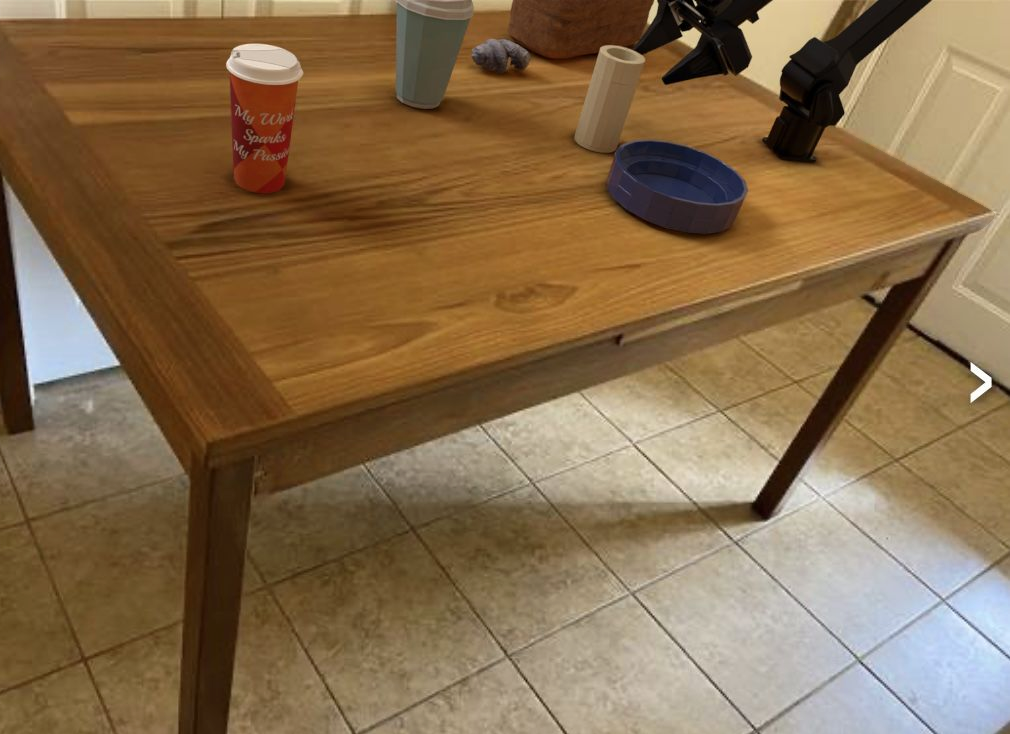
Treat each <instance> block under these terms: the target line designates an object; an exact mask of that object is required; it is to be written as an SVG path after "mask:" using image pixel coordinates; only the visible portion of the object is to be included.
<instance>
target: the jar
mask: <svg viewBox="0 0 1010 734" xmlns="http://www.w3.org/2000/svg"><path fill="white" fill-rule="evenodd" d="M595 61H596V62H595V65H594V68H593V70H592V71H593V72H592V75H591V79H590V82H589V84H588V89H587V92H586V96H585V99H584V102H583V106H582V109H581V113H580V116H579V120H578V123H577V126H576V130H575V133H574V141H575V142H576V143H577V144H578V145H579V146H580V147H582V148H584V149H586V150H589V151H592V152H595V153H603V154H608V153H613V152H616V151H617V149H618V146H619V142H620V140H621V136H622V133H623V130H624V128H625V124H626V122H627V118H628V115H629V112H630V110H631V107H632V103H633V99H634V97H635V94H636V91H637V88H638V86H639V81H640V79H641V76H642V72H643V70H644V66H645V63H646V58H645V57H644V55H641V54H639V53H637V52H636V51H633V49H631V48H628V47H621V46H614V45H606V46H602V47H601V48H600V51H599V53H597V58H596V60H595Z"/></svg>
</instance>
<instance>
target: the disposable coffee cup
mask: <svg viewBox="0 0 1010 734" xmlns="http://www.w3.org/2000/svg"><path fill="white" fill-rule="evenodd" d="M394 1H395V3H396V33H395V34H396V35H395V36H396V37H395V38H396V40H395V41H396V42H395V93H396V99H397V100H398V101H400V103H402V104H404V105H407V106H409V107H412V108H416V109H423V110H426V109H430V110H431V109H435V108H437V107H439V106H440V104H441V102H443V100H444V98H445V94H446V91H447V88H448V86H449V83H450V80H451V77H452V74H453V71H454V68H455V65H456V62H457V60H458V56H459V53H460V51H461V48H462V45H463V42H464V39H465V36H466V34H467V33H466V32H467V30H468V28H469V27H468V26H469V24H470V22H471V18H472V17H473V16H474V15H475V14H474V11H475V5H474V2H473V0H394Z"/></svg>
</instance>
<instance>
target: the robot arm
mask: <svg viewBox="0 0 1010 734" xmlns="http://www.w3.org/2000/svg"><path fill="white" fill-rule="evenodd" d="M773 1H774V0H656V2H657V9H656V14H655V16H654V18H653V20H652V21H651V23H650V24H649V26H648V27H647V29H646V30H645V32H643V33H642V35H641V38H640V40H639V41H637V42H636V44H635V45H634V47H633V48H632V50H633V51H636V52H637V53H639V54H641V55H642V56H644V55H646V54H648V53H650V52H653V51H655V50H657V49H659V48H662V47H664V46H665V45H668V44H670V43H673V42H675V41H677V40H678V39H680V38H683V37H684V36H683V33H685V32H690V31H691V30H693V28H694V29H695V30H696V31H698V32H699V33H700V36H699V39H698V41H697V43H696V45H695V47H694V48H693V49H692V50H691V51H689V52H688V54H686V55H685V56H684V57H683V58H681V59H680V60H679V61H678V62H677V63H676V64H675V65H673V66H672V67H671V68H670V69H669V70H667V72H666V73H665V74H664V75H663V76H662V77H661V81H662V83H663V85H665V86H667V85H673V84H677V83H681V82H686V81H689V80H695V79H699V78H700V79H701V78H706V77H712V76H719V75H723V76H724V77H725V76H728V75H729V72H730V73H731V74H732V75H733V76H735V77H737V76H738V75H740V74H741V73H742V72H744V71H745V70H746V69H748V68H749V66H750V64H751V61H752V59H753V55H752V53H751V49H750V47H749V45H748V42H747V40H746V36H745V34H744V31H743V30H742V28H740V26H741V25H742V24H743V23H745V22H746V21H748V22H749V23H751V24H752V25H753V24H755V23H756V22H757V21H759V20H760V17H759V13H758V12H759V11H761V10H763V9H764V8H765V7H766V6H768V5H769V4H770V3H772V2H773ZM932 1H933V0H876V1H875V2H874V3H873V4H871V6H870V7H868V8H867V9H866V10H865V11H864V12H862V14H860V15H859V16H858V17H857V18H856V19H854V20H853V21H852V22H851V23H850V24H848V25H847V27H845V28H844V29H843V30H842V31H841V32H840V33H839V34H837V35H836V36H835V37H833V38H831V39H827V40H825V41H822V40H821V39H819V38H817V37H816V36H813V37H812V38H810V39H809V40H808V41H807V42H805V44H804V45H803V46H802V47H800V49H799V50H798V51H797V50H796V52H794V53H793V54H790V55H789V59H790V60H789V61H787V62H786V64H785V65H784V66H783V67H782V69H781V74H780V78H779V88H780V89H779V98H778V100H779V101H780V102H783V103H784V104H785V105H783V107H782V109H781V111H780V113H779V115H777V116H776V117H775V119H774V122H773V124H772V126H771V129H770V131H769V133H768V136H762V139H761V141H762V142H763V143H764V144H765V145H766V146H767V147H768V148H769V150H771V151H772V152H773V153H774V154H775V155H776V156H777V157H778V158H779V159H781V160H788V161H799V162H810V163H817V161H818V157H816V156H815V154H814V152H815V150H816V148H817V146H818V144H819V142H820V140H821V138H822V136H823V134H824V132H825V129H826V128H828V127H835V126H836V125H837V124H838V123H839V122H840V121H841V119H842V118H843V117H844V116H845V115H846V111H845V109H844V106H843V103H842V102H843V101H842V100H841V97H840V94H842V92H843V91H844V90H845V89H846V88H848V86H849V84H850V81H851V79H852V77H853V75H854V72H855V70H856V67H857V66H858V65H859V64H860V63H861V62H862V61H863V60H864V59H865V58H867V57H868V56H869V55H870V54H871V53H872V52H874V51H875V50H876V49H877V48H878V47H880V46H881V45H882V44H883V43H884V42H885V41H886V40H888V39H889V38H890V37H891V36H892V35H893V34H895V33H896V32H898V30H899V29H900V28H902V27H903V26H904V25H905V24H906V23H908V22H909V21H910V20H911V19H912V18H913V17H915V16H916V15H917V14H918V13H920V12H921V11H922V10H923V9H924V8H925V7H926V6H928V5H929V4H930V3H931V2H932ZM695 3H696V4H695Z"/></svg>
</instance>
